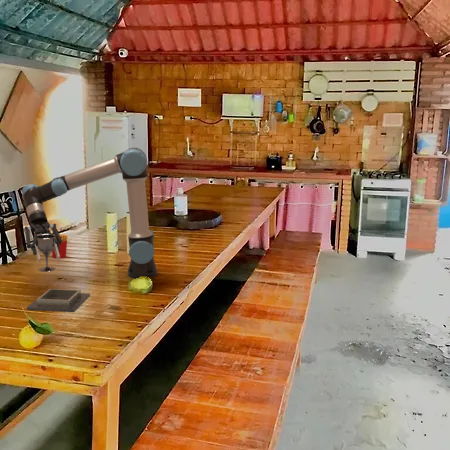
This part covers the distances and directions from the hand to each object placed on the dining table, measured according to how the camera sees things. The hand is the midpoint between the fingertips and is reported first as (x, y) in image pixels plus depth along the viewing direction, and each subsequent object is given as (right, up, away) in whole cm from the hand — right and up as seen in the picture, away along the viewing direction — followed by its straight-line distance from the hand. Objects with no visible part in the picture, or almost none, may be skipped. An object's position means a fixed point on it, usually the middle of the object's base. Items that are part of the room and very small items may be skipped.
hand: (48, 259), depth 223 cm
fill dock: (+5, -19, -1) cm, 19 cm away
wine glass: (-2, -5, +4) cm, 7 cm away
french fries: (-17, -4, +69) cm, 72 cm away
